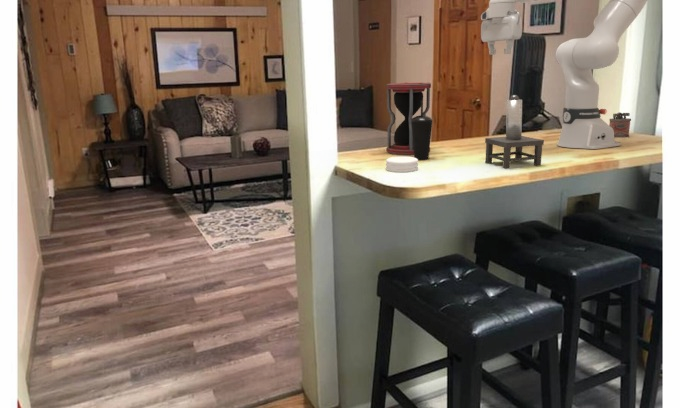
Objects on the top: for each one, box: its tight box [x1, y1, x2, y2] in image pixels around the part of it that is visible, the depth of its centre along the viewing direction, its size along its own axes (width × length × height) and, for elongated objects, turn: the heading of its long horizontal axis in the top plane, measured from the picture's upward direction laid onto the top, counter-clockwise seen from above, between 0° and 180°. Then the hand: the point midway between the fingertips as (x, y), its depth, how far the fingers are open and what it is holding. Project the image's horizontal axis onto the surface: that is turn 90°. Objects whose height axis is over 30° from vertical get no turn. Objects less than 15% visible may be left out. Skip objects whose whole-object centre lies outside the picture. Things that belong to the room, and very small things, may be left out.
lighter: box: [608, 112, 632, 139], centre depth 214 cm, size 8×3×10 cm, turn 81°
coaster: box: [385, 156, 419, 173], centre depth 163 cm, size 10×10×4 cm
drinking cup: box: [410, 99, 434, 161], centre depth 178 cm, size 8×8×20 cm
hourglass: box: [386, 82, 432, 156], centre depth 192 cm, size 16×16×25 cm
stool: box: [484, 135, 545, 170], centre depth 165 cm, size 13×12×8 cm
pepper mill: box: [505, 94, 523, 140], centre depth 163 cm, size 5×5×14 cm
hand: (499, 54), depth 184 cm, fingers open, 8 cm apart
